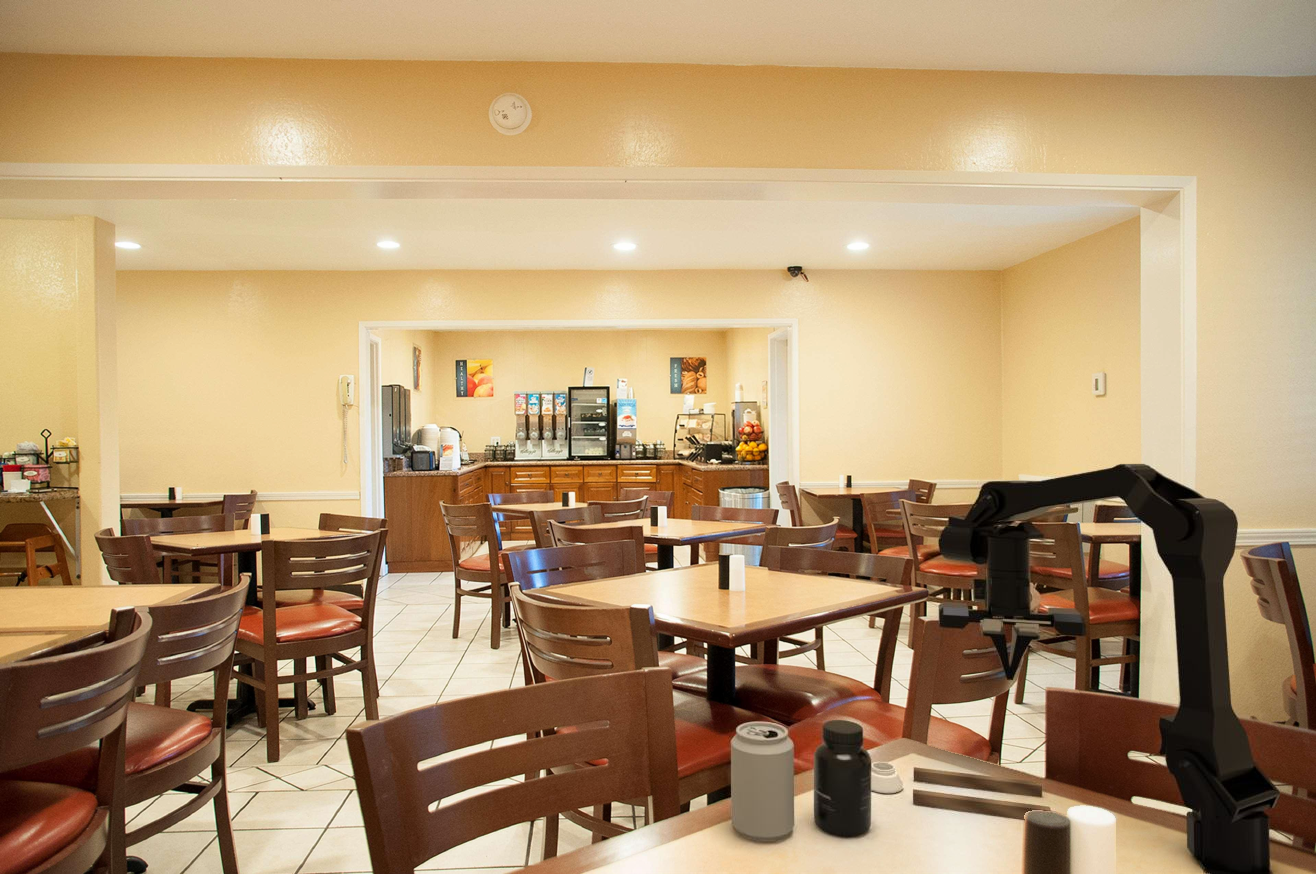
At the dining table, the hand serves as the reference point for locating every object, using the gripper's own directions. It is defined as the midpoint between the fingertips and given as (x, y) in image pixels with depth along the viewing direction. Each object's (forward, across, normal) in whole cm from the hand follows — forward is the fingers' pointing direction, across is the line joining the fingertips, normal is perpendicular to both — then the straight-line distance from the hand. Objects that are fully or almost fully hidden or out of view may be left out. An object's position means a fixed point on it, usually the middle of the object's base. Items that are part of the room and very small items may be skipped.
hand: (1009, 679), depth 111 cm
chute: (+13, +5, +11) cm, 18 cm away
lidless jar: (+13, +17, +11) cm, 24 cm away
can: (+13, +30, +28) cm, 43 cm away
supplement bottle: (+13, +21, +24) cm, 34 cm away
